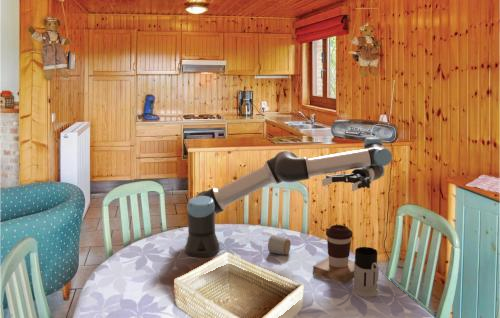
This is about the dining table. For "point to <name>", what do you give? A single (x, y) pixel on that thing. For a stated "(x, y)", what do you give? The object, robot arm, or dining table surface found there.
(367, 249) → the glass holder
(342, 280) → the walnut slab
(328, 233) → the coffee cup
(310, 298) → the dining table surface
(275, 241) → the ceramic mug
